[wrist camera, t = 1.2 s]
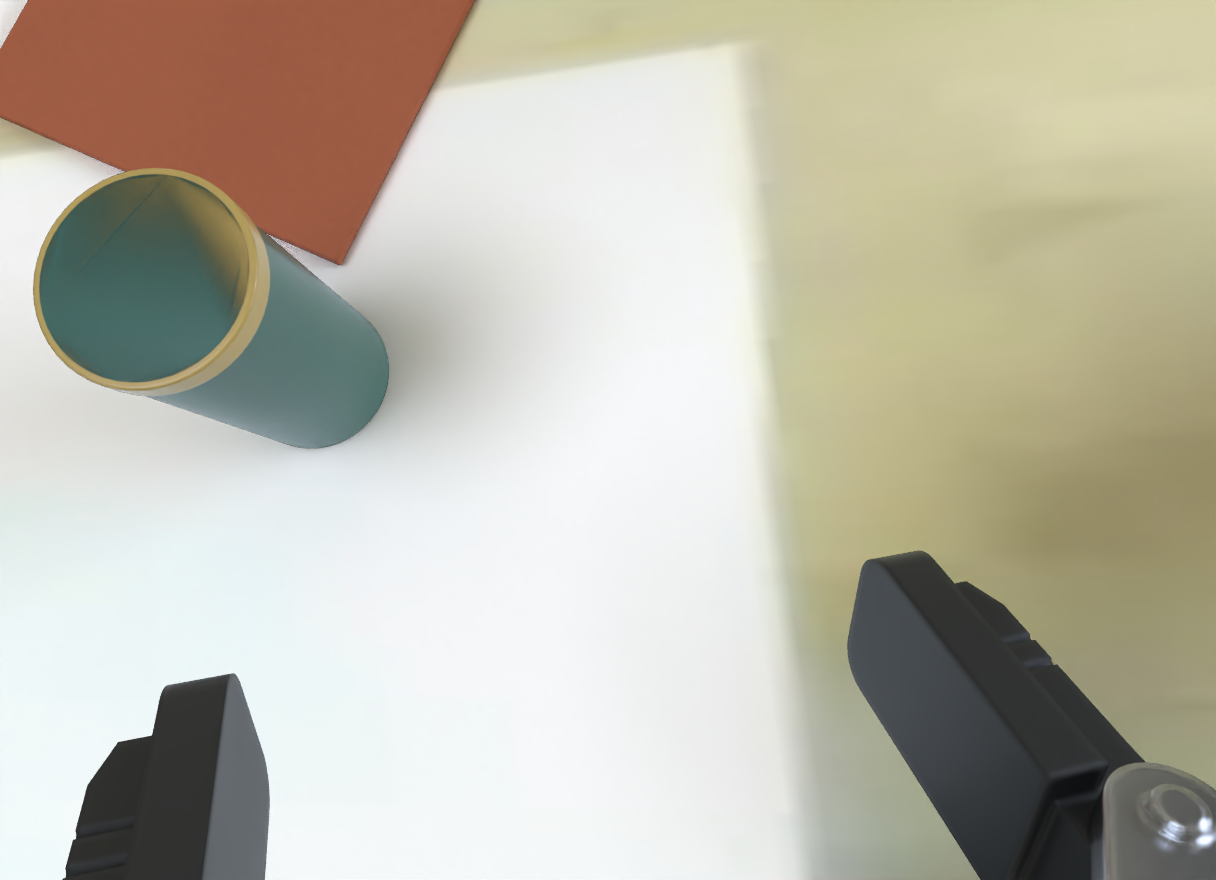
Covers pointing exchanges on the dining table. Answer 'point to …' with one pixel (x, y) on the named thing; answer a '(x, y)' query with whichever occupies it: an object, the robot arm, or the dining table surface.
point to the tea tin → (204, 312)
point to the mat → (236, 95)
